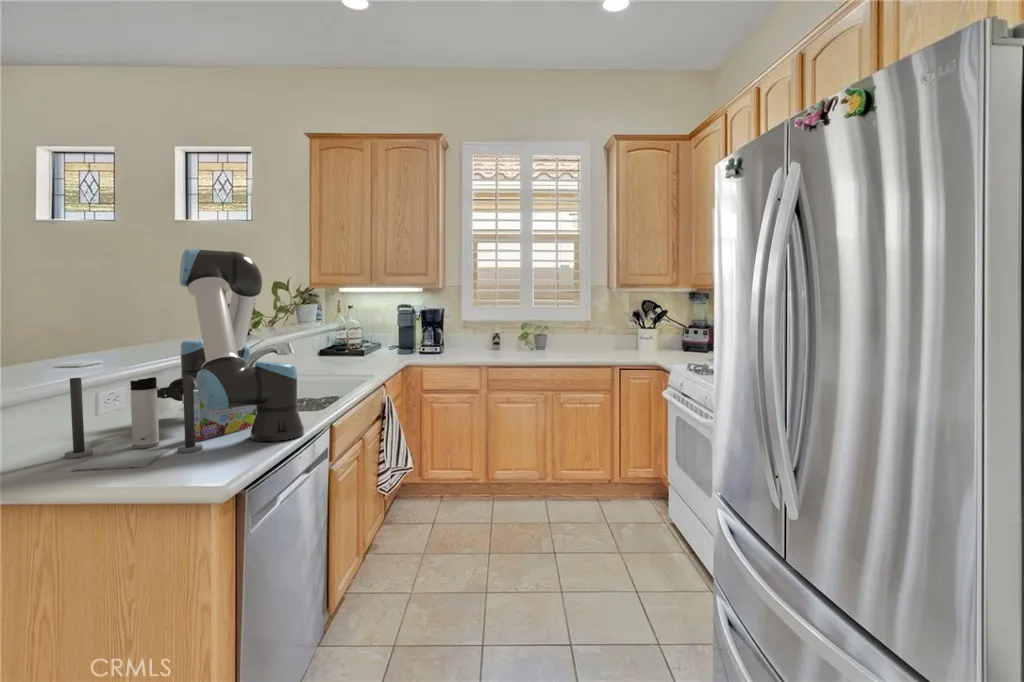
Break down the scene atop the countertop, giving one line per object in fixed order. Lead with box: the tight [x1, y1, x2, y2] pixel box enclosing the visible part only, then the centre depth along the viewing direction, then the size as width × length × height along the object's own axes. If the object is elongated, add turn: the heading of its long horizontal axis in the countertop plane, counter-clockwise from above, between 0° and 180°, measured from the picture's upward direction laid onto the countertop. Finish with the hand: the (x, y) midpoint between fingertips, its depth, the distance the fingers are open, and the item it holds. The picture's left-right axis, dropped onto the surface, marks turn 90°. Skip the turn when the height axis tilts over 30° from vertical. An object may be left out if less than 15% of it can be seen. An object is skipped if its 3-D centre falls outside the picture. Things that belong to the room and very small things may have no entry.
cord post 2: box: [177, 375, 204, 454], centre depth 150 cm, size 6×6×21 cm
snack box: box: [193, 389, 257, 442], centre depth 171 cm, size 21×6×15 cm, turn 160°
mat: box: [70, 448, 170, 472], centre depth 141 cm, size 16×16×1 cm
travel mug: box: [129, 376, 160, 450], centre depth 154 cm, size 6×7×20 cm
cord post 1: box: [64, 377, 94, 459], centre depth 144 cm, size 6×6×21 cm
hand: (158, 400), depth 163 cm, fingers open, 13 cm apart
